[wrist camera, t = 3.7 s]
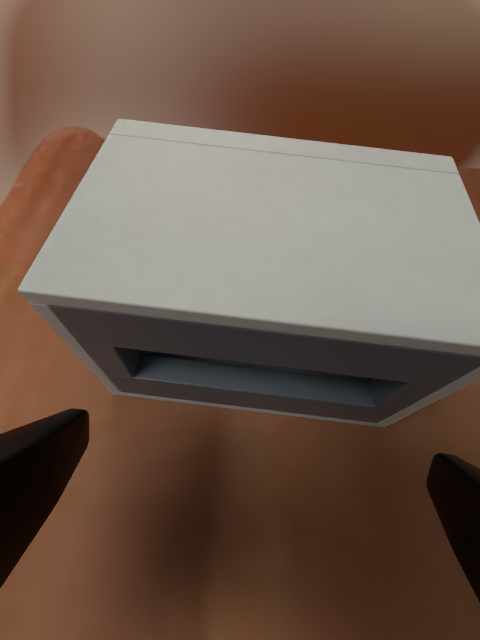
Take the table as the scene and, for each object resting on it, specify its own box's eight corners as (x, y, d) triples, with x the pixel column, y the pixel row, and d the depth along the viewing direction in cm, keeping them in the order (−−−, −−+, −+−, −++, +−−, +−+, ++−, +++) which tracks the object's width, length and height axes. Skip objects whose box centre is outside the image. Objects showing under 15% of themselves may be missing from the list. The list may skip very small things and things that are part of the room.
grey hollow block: (384, 428, 16) (534, 352, 8) (112, 395, 16) (15, 289, 9) (366, 287, 21) (452, 156, 13) (155, 262, 21) (117, 117, 13)
